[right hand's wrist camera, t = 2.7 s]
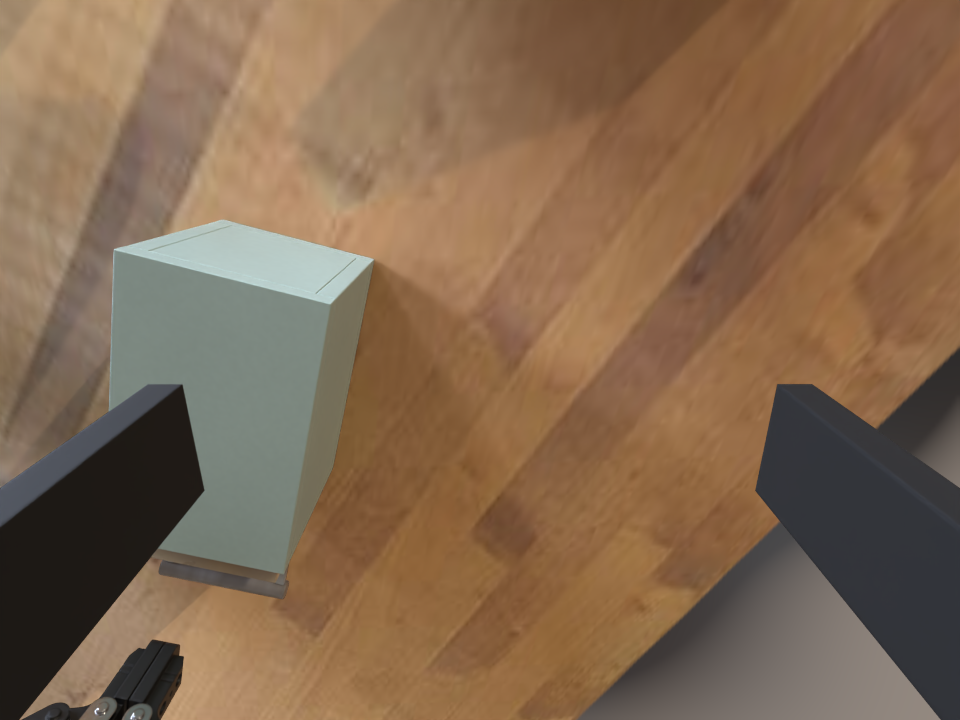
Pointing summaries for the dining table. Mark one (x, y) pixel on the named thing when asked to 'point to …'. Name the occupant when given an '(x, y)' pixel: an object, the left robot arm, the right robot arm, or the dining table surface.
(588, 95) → the dining table surface
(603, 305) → the dining table surface
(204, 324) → the cabinet
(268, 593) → the drawer
